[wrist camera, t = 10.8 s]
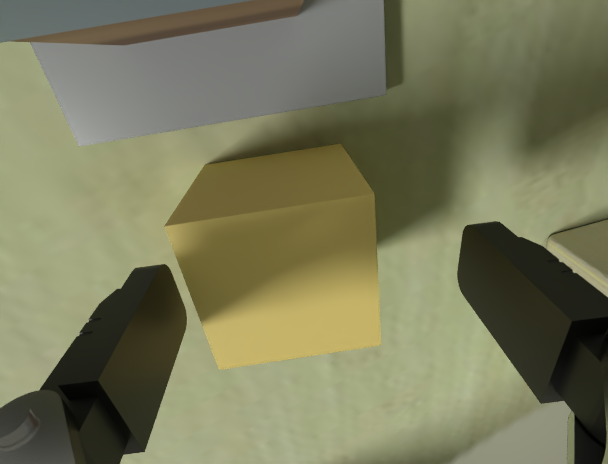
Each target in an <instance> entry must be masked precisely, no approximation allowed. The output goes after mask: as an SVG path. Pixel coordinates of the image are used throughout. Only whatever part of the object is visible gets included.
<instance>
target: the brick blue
mask: <svg viewBox="0 0 608 464" xmlns="http://www.w3.org/2000/svg"><path fill="white" fill-rule="evenodd" d="M246 1H252V0H0V43H1V42H7V41H13V40H19V39H25V38H31V37H37V36H43V35H48V34H54V33H60V32H66V31H72V30H78V29H84V28H90V27H96V26H102V25H108V24H114V23H120V22H126V21H132V20H138V19H144V18H150V17H156V16H162V15H168V14H174V13H180V12H186V11H192V10H198V9H204V8H210V7H216V6H222V5H228V4H234V3H240V2H246Z"/></svg>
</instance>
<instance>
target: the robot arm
mask: <svg viewBox="0 0 608 464" xmlns="http://www.w3.org/2000/svg"><path fill="white" fill-rule="evenodd" d="M457 277H458V283H459V287H460V290H461V292H462V294H463V296H464V297H465V298H466V300H467V301H468V303H469V304H470V305H471V307H472V308H473V310H474V311H475V312H476V314H477V315H478V317H479V318H480V319H481V321H482V322H483V323H484V325H485V326H486V328H487V329H488V330H489V332H490V333H491V335H492V336H493V337H494V339H495V340H496V342H497V343H498V344H499V346H500V347H501V349H502V350H503V351H504V353H505V354H506V356H507V357H508V358H509V360H510V361H511V363H512V364H513V365H514V367H515V368H516V370H517V371H518V372H519V374H520V375H521V376H522V378H523V379H524V381H525V382H526V383H527V385H528V386H529V388H530V389H531V390H532V392H533V393H534V395H535V396H536V397H537V399H538V400H539V402H540V403H541V404H542V403H550V402H558V401H565V402H566V404H567V405H568V406H569V407H570V409H571V413H570V415H569V417H568V438H567V464H608V297H607V296H606V295H604V294H603V293H602V292H600V291H599V290H598V289H597V288H595V287H594V286H593V285H592V284H590V283H589V282H588V281H586V280H585V279H584V278H583V277H581V276H580V275H579V274H577V273H573V270H572V269H571V268H570V267H568V266H567V265H566V264H565V263H563V262H560V261H559V259H558V258H557V257H556V256H554V255H553V254H552V253H551V252H549V251H548V250H547V249H545V248H544V247H543V246H541V245H538V244H536V243H534V242H532V241H529V240H527V239H525V238H523V237H517V236H516V235H515V234H514V233H513V232H511V231H510V230H509V229H508V228H506V227H505V226H504V225H503V224H502V223H500V222H497V221H495V222H487V223H480V224H472V225H467V226H466V227H465V228H464V230H463V234H462V242H461V249H460V257H459V264H458V272H457ZM186 324H187V316H186V310H185V306H184V304H183V301H182V299H181V296H180V293H179V291H178V288H177V286H176V283H175V281H174V278H173V275H172V273H171V270H170V269H169V267H168V266H167V265H165V264H162V265H155V266H147V267H139V268H135V269H134V270H133V271H132V273H131V274H130V276H129V277H128V279H127V280H126V282H125V283H124V285H123V286H122V288H121V289H117V290H115V291H114V292H113V293H112V294H111V295H109V296H108V297H107V298H106V299H105V300H103V301H102V302H101V303H100V304H99V305H98V307H97V308H96V310H95V311H94V313H93V314H92V315H91V317H90V318H89V322H88V323H86V324H85V325H84V327H83V328H82V330H81V331H80V333H79V334H80V335H79V336H77V337H76V338H75V340H74V341H73V343H72V344H71V346H70V347H69V348H68V350H67V351H66V353H65V354H64V356H63V357H62V358H61V360H60V361H59V363H58V364H57V366H56V367H55V368H54V370H53V371H52V373H51V374H50V376H49V377H48V378H47V380H46V381H45V383H44V384H43V386H42V387H41V389H40V390H39V391H34V392H31V393H28V394H25V395H23V396H20V397H18V398H16V399H14V400H13V401H11V402H9V403H7V404H6V405H4V406H3V407H1V408H0V464H120V461H121V459H122V456H123V455H124V454H132V453H140V452H145V449H146V446H147V443H148V440H149V437H150V434H151V431H152V428H153V425H154V422H155V419H156V416H157V413H158V410H159V407H160V404H161V401H162V399H163V396H164V393H165V390H166V387H167V384H168V381H169V378H170V375H171V372H172V369H173V366H174V363H175V360H176V357H177V354H178V351H179V348H180V345H181V342H182V339H183V336H184V333H185V330H186Z"/></svg>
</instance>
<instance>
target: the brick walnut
mask: <svg viewBox="0 0 608 464" xmlns="http://www.w3.org/2000/svg"><path fill="white" fill-rule="evenodd" d="M303 2H304V0H252V1H246V2H240V3H234V4H228V5H222V6H216V7H210V8H204V9H198V10H192V11H186V12H180V13H174V14H168V15H162V16H156V17H150V18H144V19H138V20H132V21H126V22H120V23H114V24H108V25H102V26H96V27H90V28H84V29H78V30H72V31H66V32H60V33H54V34H48V35H43V36H37V37H31V38H25V39H19V40H13V41H14V42H41V43H68V44H94V45H121V46H124V45H130V44H136V43H142V42H148V41H154V40H160V39H165V38H171V37H177V36H183V35H189V34H195V33H201V32H206V31H212V30H218V29H224V28H230V27H236V26H242V25H247V24H253V23H259V22H265V21H271V20H277V19H283V18H288V17H294V16H297V14H298V12H299V10H300V8H301V6H302V4H303Z"/></svg>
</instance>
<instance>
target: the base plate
mask: <svg viewBox="0 0 608 464" xmlns="http://www.w3.org/2000/svg"><path fill="white" fill-rule="evenodd" d="M30 43H31V45H32V47H33V50H34V52H35V54H36V56H37V58H38V60H39V62H40V64H41V67H42V69H43V71H44V73H45V75H46V77H47V79H48V81H49V84H50V86H51V88H52V90H53V92H54V94H55V96H56V98H57V101H58V103H59V105H60V107H61V109H62V111H63V113H64V115H65V118H66V120H67V122H68V124H69V126H70V128H71V130H72V132H73V135H74V137H75V139H76V141H77V143H78V145H79V146H84V145H90V144H96V143H102V142H108V141H114V140H120V139H126V138H132V137H138V136H144V135H150V134H156V133H162V132H168V131H174V130H180V129H186V128H192V127H198V126H204V125H210V124H216V123H222V122H228V121H234V120H240V119H245V118H251V117H257V116H263V115H269V114H275V113H281V112H287V111H293V110H299V109H305V108H311V107H317V106H323V105H329V104H335V103H341V102H347V101H353V100H359V99H365V98H371V97H377V96H383V95H386V64H385V29H384V0H304V2H303V4H302V6H301V8H300V10H299V12H298V14H297V16H294V17H288V18H283V19H277V20H271V21H265V22H259V23H253V24H247V25H242V26H236V27H230V28H224V29H218V30H212V31H206V32H201V33H195V34H189V35H183V36H177V37H171V38H165V39H160V40H154V41H148V42H142V43H136V44H130V45H124V46H121V45H94V44H68V43H41V42H30Z"/></svg>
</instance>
